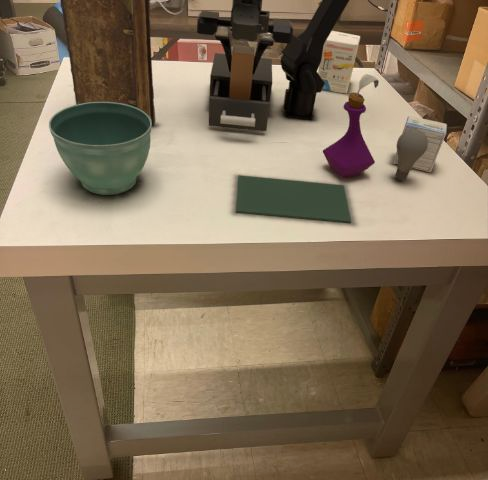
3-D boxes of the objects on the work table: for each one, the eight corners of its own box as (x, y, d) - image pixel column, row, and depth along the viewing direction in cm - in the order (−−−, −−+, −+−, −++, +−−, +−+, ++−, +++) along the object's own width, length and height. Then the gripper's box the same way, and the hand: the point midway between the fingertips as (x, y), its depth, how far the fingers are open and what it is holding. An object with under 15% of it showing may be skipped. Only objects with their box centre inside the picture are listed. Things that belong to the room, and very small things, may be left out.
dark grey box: (268, 116, 113) (272, 81, 108) (209, 110, 112) (210, 75, 107) (267, 91, 123) (271, 58, 118) (213, 86, 123) (215, 52, 117)
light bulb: (414, 189, 95) (433, 139, 88) (385, 183, 96) (402, 134, 89) (413, 175, 99) (431, 127, 92) (386, 170, 100) (401, 121, 93)
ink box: (314, 88, 127) (323, 38, 119) (318, 77, 133) (327, 28, 125) (347, 94, 127) (359, 44, 118) (349, 82, 133) (360, 34, 124)
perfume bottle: (340, 184, 94) (365, 86, 81) (318, 165, 99) (339, 70, 86) (371, 177, 97) (399, 82, 84) (348, 160, 101) (372, 66, 89)
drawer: (266, 141, 102) (269, 113, 98) (206, 135, 102) (207, 106, 97) (266, 106, 115) (269, 80, 110) (212, 100, 114) (214, 74, 110)
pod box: (250, 93, 109) (254, 47, 103) (249, 102, 106) (254, 55, 99) (229, 91, 109) (233, 44, 102) (228, 100, 106) (232, 52, 99)
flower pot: (52, 205, 81) (39, 142, 73) (69, 157, 92) (58, 98, 84) (152, 208, 83) (149, 147, 75) (156, 161, 94) (153, 103, 86)
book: (73, 114, 105) (50, -27, 87) (95, 104, 109) (78, -33, 91) (137, 137, 100) (127, -7, 82) (157, 125, 105) (152, -14, 87)
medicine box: (432, 164, 104) (447, 123, 97) (430, 173, 100) (446, 132, 94) (394, 155, 105) (408, 114, 99) (392, 164, 102) (405, 123, 96)
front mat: (343, 187, 94) (343, 185, 93) (350, 223, 85) (351, 221, 85) (238, 177, 93) (238, 175, 92) (235, 212, 84) (236, 210, 84)
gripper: (195, -11, 87) (193, 82, 98) (299, 1, 88) (286, 92, 99) (200, -25, 94) (198, 63, 106) (297, -13, 95) (284, 72, 106)
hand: (241, 72), depth 104 cm, fingers closed on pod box, 4 cm apart
